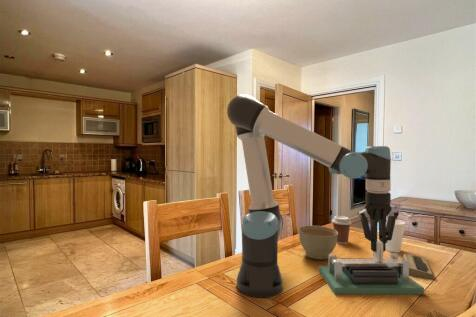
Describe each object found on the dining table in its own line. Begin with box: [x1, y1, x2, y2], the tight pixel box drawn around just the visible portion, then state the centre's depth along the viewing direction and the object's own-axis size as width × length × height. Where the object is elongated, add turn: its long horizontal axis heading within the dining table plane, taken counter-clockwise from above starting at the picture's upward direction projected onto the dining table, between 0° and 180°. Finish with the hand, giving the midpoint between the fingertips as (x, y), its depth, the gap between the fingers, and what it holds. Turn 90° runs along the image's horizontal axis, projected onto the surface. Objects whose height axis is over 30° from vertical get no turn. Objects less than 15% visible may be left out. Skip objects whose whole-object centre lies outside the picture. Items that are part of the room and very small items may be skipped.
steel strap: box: [331, 257, 401, 267], centre depth 92 cm, size 23×4×2 cm, turn 90°
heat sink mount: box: [327, 252, 410, 285], centre depth 92 cm, size 24×12×8 cm, turn 90°
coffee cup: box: [331, 215, 352, 245], centre depth 133 cm, size 9×9×12 cm
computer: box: [402, 253, 435, 280], centre depth 103 cm, size 16×8×3 cm, turn 153°
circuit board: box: [318, 265, 425, 295], centre depth 92 cm, size 28×16×2 cm, turn 90°
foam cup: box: [385, 218, 406, 254], centre depth 122 cm, size 10×9×13 cm
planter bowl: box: [298, 225, 338, 260], centre depth 115 cm, size 16×16×11 cm
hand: (378, 260), depth 92 cm, fingers closed, pressing on steel strap
